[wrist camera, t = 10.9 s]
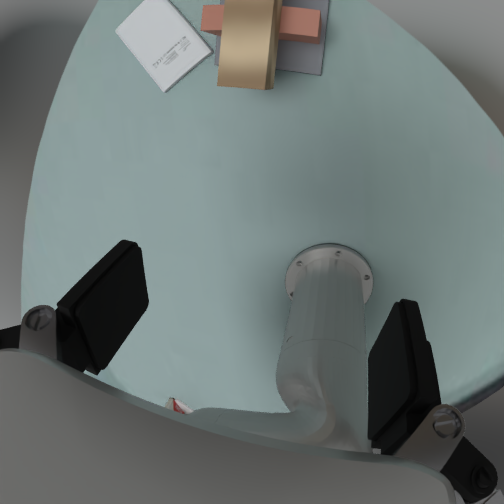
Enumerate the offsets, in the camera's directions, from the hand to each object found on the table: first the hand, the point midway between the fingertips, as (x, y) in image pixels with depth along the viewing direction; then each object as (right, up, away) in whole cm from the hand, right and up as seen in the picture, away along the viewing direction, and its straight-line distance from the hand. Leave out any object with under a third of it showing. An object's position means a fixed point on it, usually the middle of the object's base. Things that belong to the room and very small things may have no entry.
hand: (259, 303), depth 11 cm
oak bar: (0, +23, +11) cm, 26 cm away
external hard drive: (-11, +29, +20) cm, 37 cm away
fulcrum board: (+2, +27, +17) cm, 32 cm away
